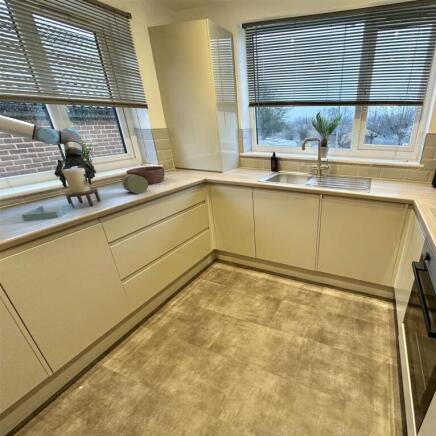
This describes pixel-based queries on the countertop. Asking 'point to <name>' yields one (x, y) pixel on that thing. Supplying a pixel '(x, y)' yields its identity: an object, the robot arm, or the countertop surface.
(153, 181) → the wooden bowl
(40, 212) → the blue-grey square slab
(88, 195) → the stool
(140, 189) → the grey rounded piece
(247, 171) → the countertop surface
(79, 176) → the coffee cup
